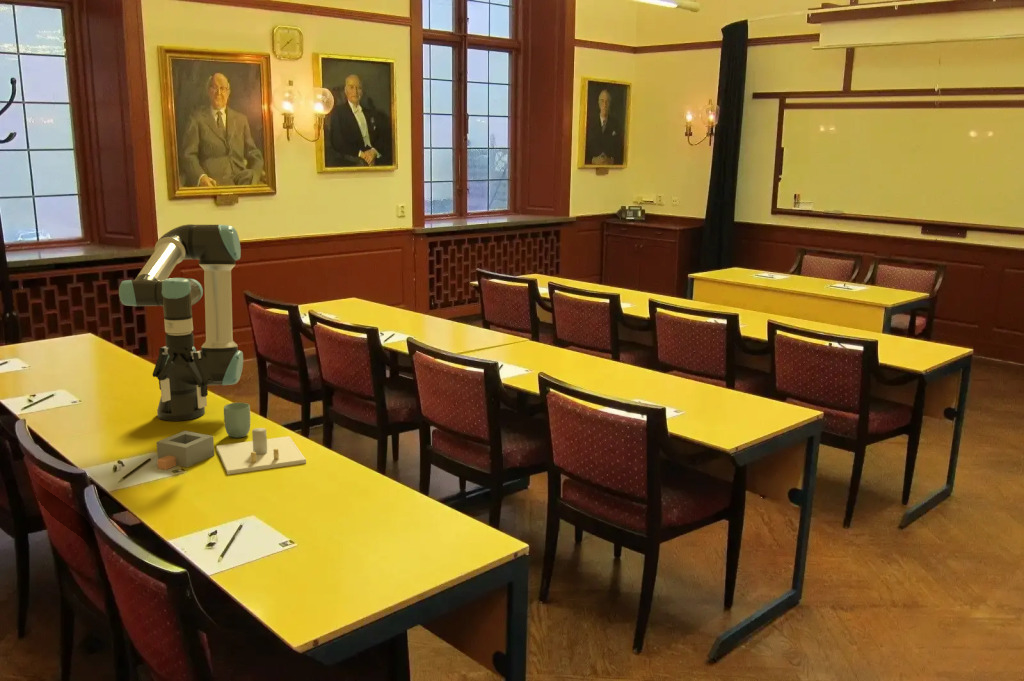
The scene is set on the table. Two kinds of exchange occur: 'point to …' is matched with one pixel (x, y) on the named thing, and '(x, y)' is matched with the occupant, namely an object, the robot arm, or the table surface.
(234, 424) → the cup
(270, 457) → the post block
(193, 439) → the grey hollow box
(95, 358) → the table surface
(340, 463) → the table surface
